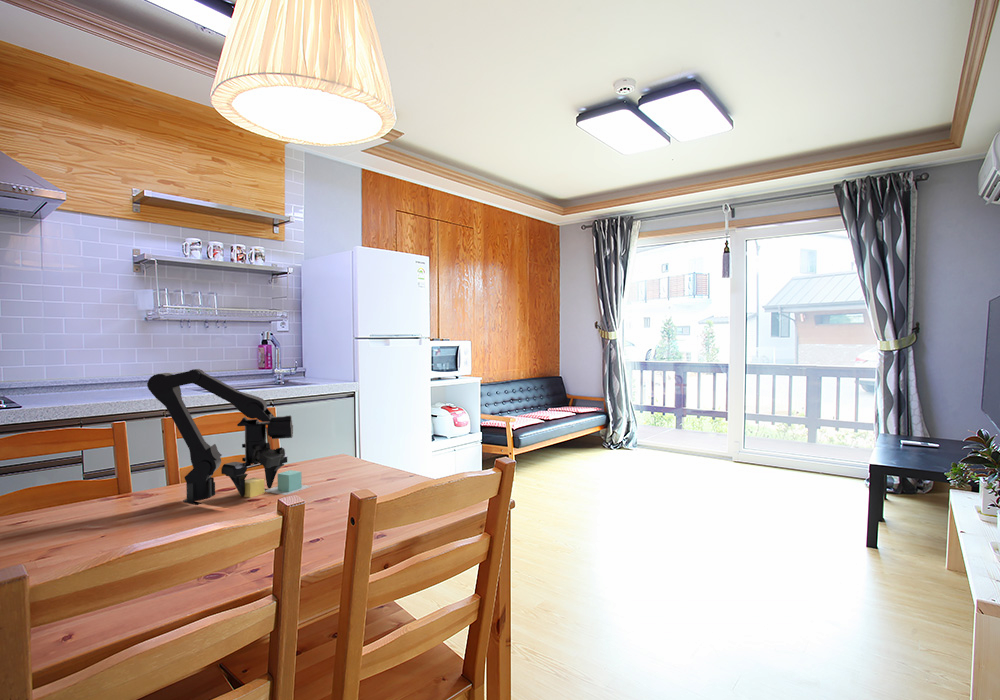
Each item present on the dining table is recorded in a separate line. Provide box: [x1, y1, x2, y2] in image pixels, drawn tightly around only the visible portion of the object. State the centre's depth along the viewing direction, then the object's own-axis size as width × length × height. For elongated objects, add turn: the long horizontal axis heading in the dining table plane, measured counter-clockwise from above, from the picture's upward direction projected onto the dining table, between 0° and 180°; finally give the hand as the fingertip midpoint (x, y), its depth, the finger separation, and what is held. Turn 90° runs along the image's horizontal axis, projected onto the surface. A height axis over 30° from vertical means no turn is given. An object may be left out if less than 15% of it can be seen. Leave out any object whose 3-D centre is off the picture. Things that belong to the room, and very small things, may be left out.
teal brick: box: [277, 469, 303, 492], centre depth 155 cm, size 5×5×5 cm
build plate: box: [265, 484, 312, 496], centre depth 156 cm, size 10×10×1 cm
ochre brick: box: [238, 477, 266, 498], centre depth 150 cm, size 5×5×5 cm
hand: (256, 492), depth 152 cm, fingers open, 9 cm apart
